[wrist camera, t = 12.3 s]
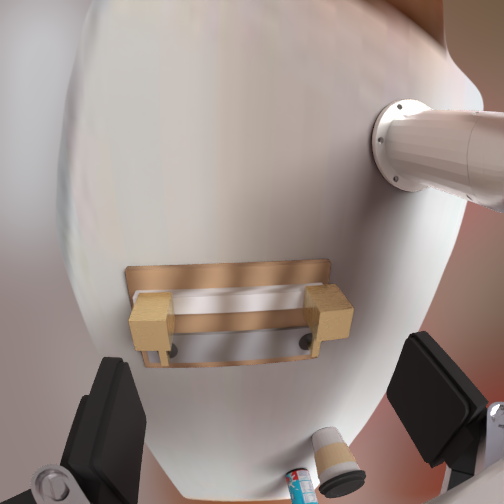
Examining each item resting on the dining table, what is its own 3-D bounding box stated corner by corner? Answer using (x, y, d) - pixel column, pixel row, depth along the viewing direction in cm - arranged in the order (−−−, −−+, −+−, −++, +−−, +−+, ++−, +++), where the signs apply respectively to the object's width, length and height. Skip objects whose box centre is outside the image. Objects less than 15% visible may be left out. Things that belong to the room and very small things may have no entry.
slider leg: (172, 288, 36) (165, 320, 30) (181, 354, 40) (178, 390, 33) (140, 289, 35) (128, 320, 29) (153, 354, 39) (146, 390, 33)
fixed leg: (332, 280, 38) (354, 308, 32) (322, 344, 42) (338, 376, 36) (303, 282, 38) (320, 312, 31) (296, 348, 42) (309, 381, 35)
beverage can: (283, 471, 60) (295, 520, 47) (306, 465, 61) (321, 513, 47) (287, 479, 63) (298, 525, 49) (309, 473, 63) (323, 518, 49)
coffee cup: (312, 450, 58) (329, 502, 44) (296, 434, 54) (314, 494, 40) (349, 432, 57) (372, 484, 43) (338, 415, 53) (363, 473, 40)
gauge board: (328, 259, 40) (336, 269, 37) (314, 353, 46) (320, 366, 43) (127, 266, 37) (121, 277, 34) (146, 362, 42) (143, 376, 40)
